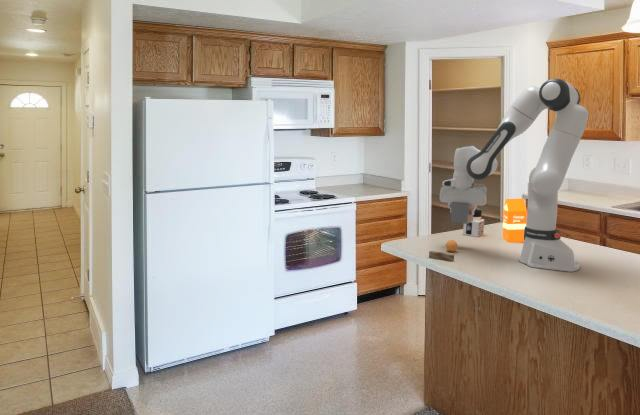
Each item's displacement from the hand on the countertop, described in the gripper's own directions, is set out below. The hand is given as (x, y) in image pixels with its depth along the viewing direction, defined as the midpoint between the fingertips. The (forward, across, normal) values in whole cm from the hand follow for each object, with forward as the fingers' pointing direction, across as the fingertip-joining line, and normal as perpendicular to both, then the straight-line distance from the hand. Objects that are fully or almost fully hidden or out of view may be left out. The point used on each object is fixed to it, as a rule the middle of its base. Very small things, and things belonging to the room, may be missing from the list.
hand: (461, 213), depth 232 cm
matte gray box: (+4, 0, 0) cm, 4 cm away
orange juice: (+16, -16, -30) cm, 38 cm away
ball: (+13, +1, +9) cm, 16 cm away
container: (+16, +4, -30) cm, 34 cm away
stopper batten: (+15, 0, +23) cm, 28 cm away
